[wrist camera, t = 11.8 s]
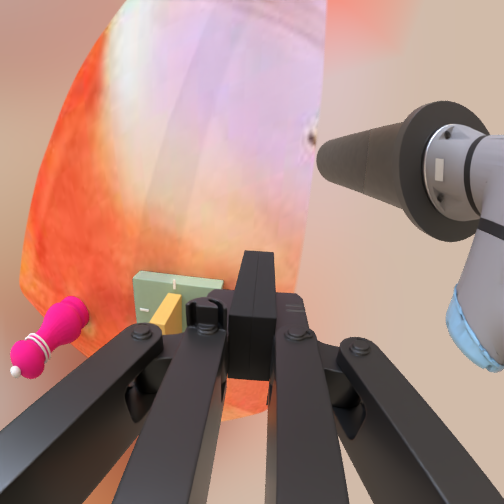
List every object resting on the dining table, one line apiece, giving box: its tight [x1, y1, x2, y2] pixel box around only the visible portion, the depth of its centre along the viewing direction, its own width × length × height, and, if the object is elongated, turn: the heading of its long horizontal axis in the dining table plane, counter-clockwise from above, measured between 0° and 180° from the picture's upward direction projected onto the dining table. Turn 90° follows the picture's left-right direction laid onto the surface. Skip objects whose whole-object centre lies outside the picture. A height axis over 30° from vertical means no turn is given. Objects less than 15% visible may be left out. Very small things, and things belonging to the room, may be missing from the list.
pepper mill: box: [10, 296, 89, 379], centre depth 35 cm, size 7×7×20 cm
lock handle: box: [149, 293, 182, 335], centre depth 36 cm, size 7×2×8 cm, turn 174°
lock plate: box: [133, 271, 224, 333], centre depth 41 cm, size 13×11×3 cm
